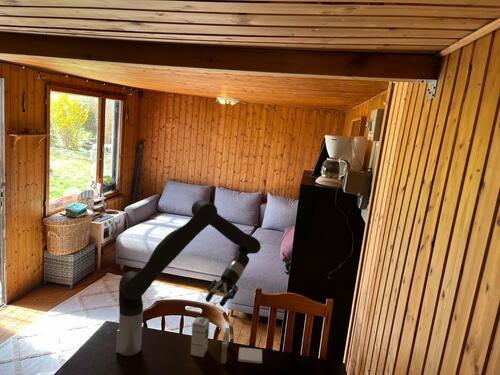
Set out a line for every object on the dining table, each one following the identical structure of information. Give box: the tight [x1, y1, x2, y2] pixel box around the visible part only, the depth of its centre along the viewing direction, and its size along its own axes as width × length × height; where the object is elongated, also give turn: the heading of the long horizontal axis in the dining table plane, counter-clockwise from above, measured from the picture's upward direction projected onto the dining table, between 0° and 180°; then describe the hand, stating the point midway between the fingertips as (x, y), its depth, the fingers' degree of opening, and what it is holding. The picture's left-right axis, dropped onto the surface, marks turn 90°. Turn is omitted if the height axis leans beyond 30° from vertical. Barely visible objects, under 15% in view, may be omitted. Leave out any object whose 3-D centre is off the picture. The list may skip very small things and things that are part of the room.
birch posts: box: [220, 331, 231, 364], centre depth 152 cm, size 2×13×7 cm, turn 178°
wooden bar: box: [221, 327, 231, 349], centre depth 152 cm, size 2×12×2 cm, turn 178°
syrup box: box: [190, 316, 210, 358], centre depth 152 cm, size 6×6×14 cm
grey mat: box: [237, 347, 263, 365], centre depth 153 cm, size 10×8×1 cm
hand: (213, 303), depth 154 cm, fingers open, 8 cm apart
